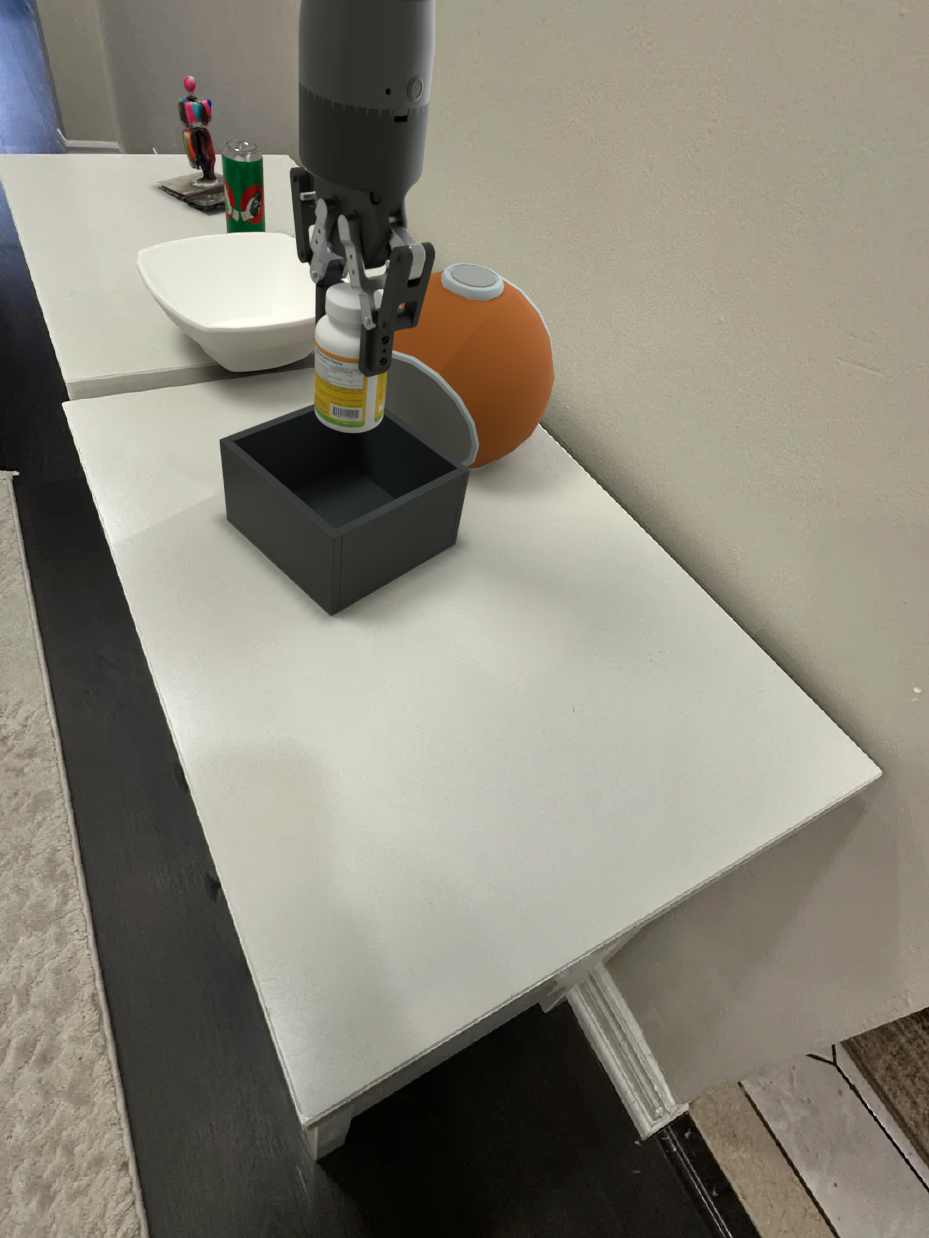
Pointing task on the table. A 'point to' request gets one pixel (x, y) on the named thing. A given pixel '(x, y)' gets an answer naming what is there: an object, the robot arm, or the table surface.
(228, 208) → the soda can
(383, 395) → the supplement bottle
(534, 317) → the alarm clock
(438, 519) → the bin
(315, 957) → the table surface
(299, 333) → the bowl
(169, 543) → the table surface
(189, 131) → the statue
